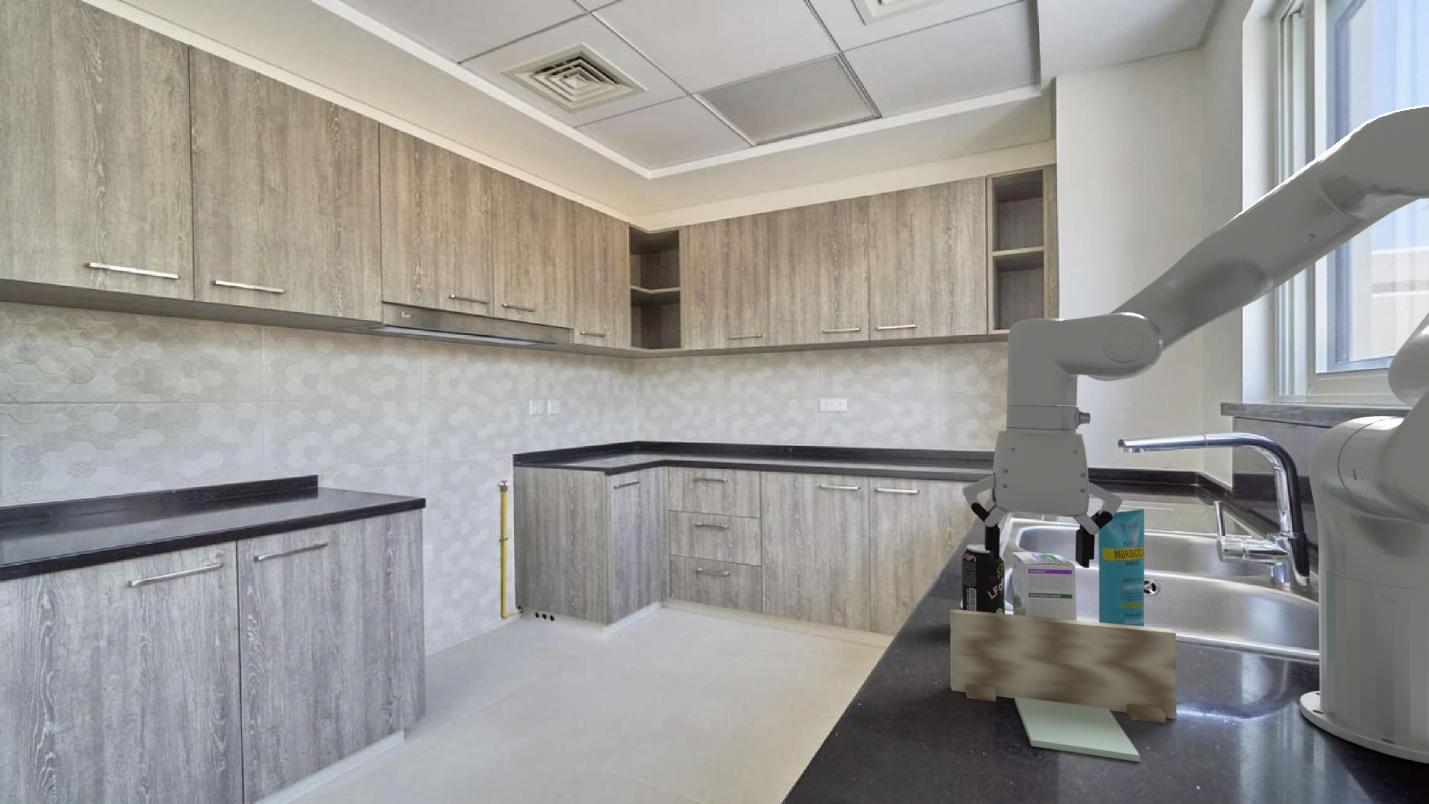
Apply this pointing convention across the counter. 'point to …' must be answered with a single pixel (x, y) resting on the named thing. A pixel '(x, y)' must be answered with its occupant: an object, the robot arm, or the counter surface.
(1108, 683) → the birch board
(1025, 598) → the syrup box
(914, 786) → the counter surface
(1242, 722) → the counter surface
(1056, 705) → the green pad
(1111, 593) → the tube
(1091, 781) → the counter surface
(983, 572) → the beverage can
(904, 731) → the counter surface
